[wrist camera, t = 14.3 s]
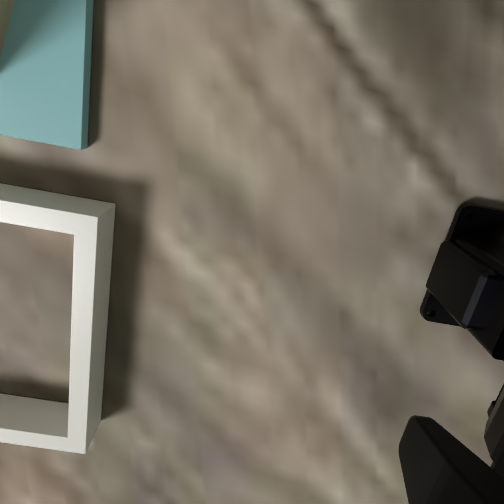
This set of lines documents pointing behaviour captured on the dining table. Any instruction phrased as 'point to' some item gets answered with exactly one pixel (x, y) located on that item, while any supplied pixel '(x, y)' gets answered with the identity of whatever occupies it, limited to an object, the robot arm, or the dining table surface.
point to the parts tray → (82, 323)
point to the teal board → (47, 72)
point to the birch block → (4, 19)
